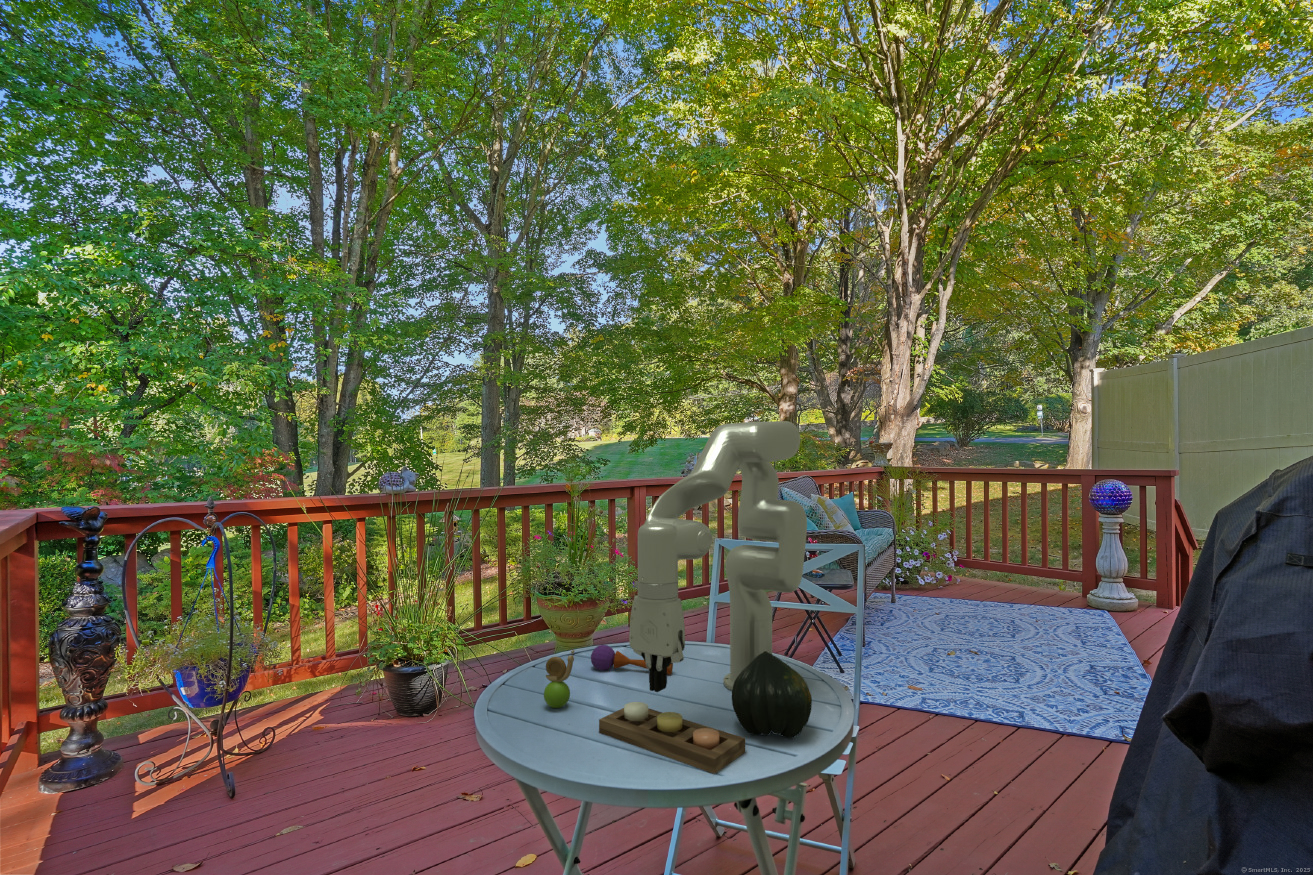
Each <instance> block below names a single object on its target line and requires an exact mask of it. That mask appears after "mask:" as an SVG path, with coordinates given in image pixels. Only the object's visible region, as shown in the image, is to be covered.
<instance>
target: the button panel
mask: <svg viewBox="0 0 1313 875" xmlns="http://www.w3.org/2000/svg"><path fill="white" fill-rule="evenodd" d="M661 713H663V712H662V711H659V710H655V709H652V708H649V707H648V718H646V719H644V720H641V721H631V720H627V719H626V718H625V717H624V707H622V708H620V709H618V710H616V711H614V712H612V713H610V714H608V715H606V716H604V717H601V718H599V719H598V734H600V735H601V734H602V735H603V736H604V735H605V736H607V737H609V738H613V739H615V740H618V741H621V742H624V743H627V744H629V745H633V746H635V747H638V748H640V749H644V750H647V751H649V752H651V753H654V754H657V755H661V756H663V757H666V758H669V759H670V760H671V759H672V760H674V761H676V762H679V763H682V764H685V765H689V766H691V767H694V768H697V769H699V770H702V771H705V772H707V773H709V774H713V775H716V774H717V773H718V772H720V771H721V770H722V769H724V768H726V767H727V766H728V765H730V764H732V762H734V761H736V759H737V760H738V758H740V757H741V756H742V755H744V754H745V753H746V737H743V736H739V735H737V734H734V733H731V732H727V731H724V730H721V729H719V728H714V727H711V726H709V725H708V726H707V725H705V724H700V723H698V722H695V721H691V720H688V719H685V718H682V729H681V730H679V731H676V732H664V731H661V730H659V729H658V728H657V716H658V715H659V714H661ZM701 728H710V729H714V730H716V731H718V732H719V745H718V746H717V747H715V748H714V749H712V750H708V749H705V748H702V747H699V746H696V745H693V732H694V731H695V730H697V729H701Z"/></svg>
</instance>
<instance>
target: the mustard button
mask: <svg viewBox="0 0 1313 875" xmlns="http://www.w3.org/2000/svg"><path fill="white" fill-rule="evenodd" d="M682 719H683V715H682V714H681V713H678V712H675V711H666V712H662V713H661V714H659V715H658V716H657V728H658V729H659V730H661V731H664V732H676V731H679V730H681V729H682Z"/></svg>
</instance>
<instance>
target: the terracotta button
mask: <svg viewBox="0 0 1313 875" xmlns="http://www.w3.org/2000/svg"><path fill="white" fill-rule="evenodd" d="M714 729H715V728H714ZM714 729H710V728H701V729H697V730H695V731H694V732H693V745H696V746H699V747H702V748H705V749H708V750H712V749H714V748H715V747H717V746H718V745H719V732H718V731H716V730H714Z"/></svg>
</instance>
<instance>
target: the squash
mask: <svg viewBox="0 0 1313 875" xmlns="http://www.w3.org/2000/svg"><path fill="white" fill-rule="evenodd" d="M731 705H732V708H733V711H734V714H735V716H736V718H737V720H738V721H739V724H740V726H741V727H742V729H743V730H744V731H745V732H747V733H748V734H749V735H753V736H761V735H763V736H768V735H770V734H771V733H773V734H774V735H780V736H782V737H784V738H786V737H787V739H791V738H794V737H797V736H799V735H800V734H801V732H802V731H803V729H804V727H805V726H806V725H807V724H808V722H809V720H810V717H811V713H812V708H813V707H812V705H813V700H812V694H811V690H810V688H809V686H808V683H807V681H806V680H805V678H803V676H802V675H801V674H800V673H799V672H797V671H796V670H795V669H794V668H793V667H791V666H790V665H789V664H788V663H786V662H784V661H783V660H781V659H780V658H779V657H777V656H775V655H774V654H773V653H772V654H770V653H768V652H767V651H764V652H763V653H761V654H759V655H758V656H757V657H756V658H755V659H754V660H753V661H752V662H751V663H750V664H749V665H748V666H747V667H746V668H744V669H743V671H742V672H741V673H740V674H739V675H738V677H737V678H736V680H735V682H734V684H733V689H732V690H731Z"/></svg>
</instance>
